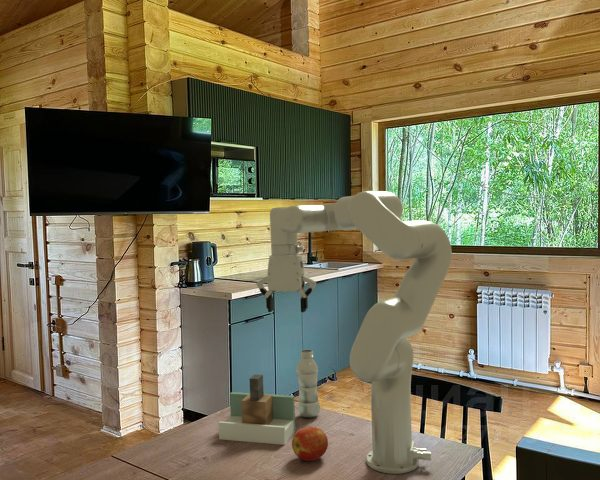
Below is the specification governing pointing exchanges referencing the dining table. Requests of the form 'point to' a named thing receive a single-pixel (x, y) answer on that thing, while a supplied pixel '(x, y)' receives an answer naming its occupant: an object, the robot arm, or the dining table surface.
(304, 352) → the plastic bottle
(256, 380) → the tan grey tall block
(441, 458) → the dining table surface
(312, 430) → the apple
